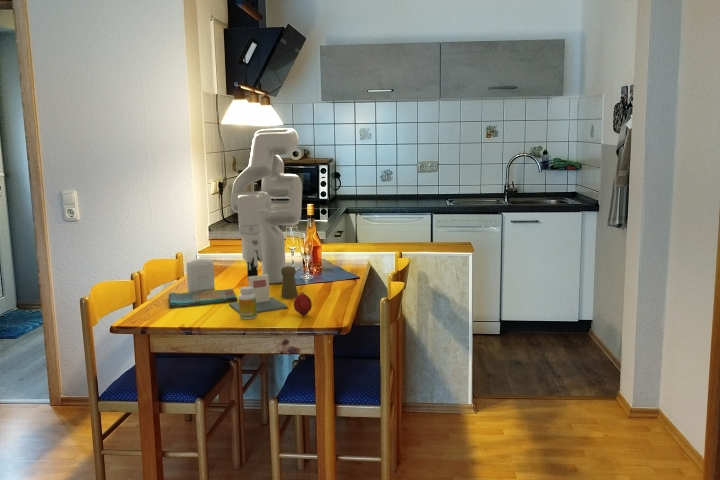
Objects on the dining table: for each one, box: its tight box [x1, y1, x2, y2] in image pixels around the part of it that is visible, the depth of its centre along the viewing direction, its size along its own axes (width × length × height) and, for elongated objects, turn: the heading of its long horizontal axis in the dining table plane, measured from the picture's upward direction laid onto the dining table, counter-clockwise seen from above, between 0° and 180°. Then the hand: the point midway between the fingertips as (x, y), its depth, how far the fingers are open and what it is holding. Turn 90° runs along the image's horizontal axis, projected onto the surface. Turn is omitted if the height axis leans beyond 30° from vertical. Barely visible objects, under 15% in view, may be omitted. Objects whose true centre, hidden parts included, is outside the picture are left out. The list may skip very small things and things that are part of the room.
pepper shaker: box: [280, 265, 299, 300], centre depth 242 cm, size 6×6×11 cm
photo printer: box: [186, 257, 216, 293], centre depth 255 cm, size 10×4×12 cm, turn 123°
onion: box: [293, 291, 313, 317], centre depth 217 cm, size 6×6×8 cm
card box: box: [247, 274, 271, 303], centre depth 234 cm, size 6×2×9 cm, turn 115°
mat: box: [228, 296, 289, 315], centre depth 230 cm, size 16×15×1 cm
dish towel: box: [168, 288, 238, 309], centre depth 243 cm, size 17×23×2 cm
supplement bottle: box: [238, 286, 258, 320], centre depth 217 cm, size 5×5×10 cm
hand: (253, 280), depth 239 cm, fingers closed
